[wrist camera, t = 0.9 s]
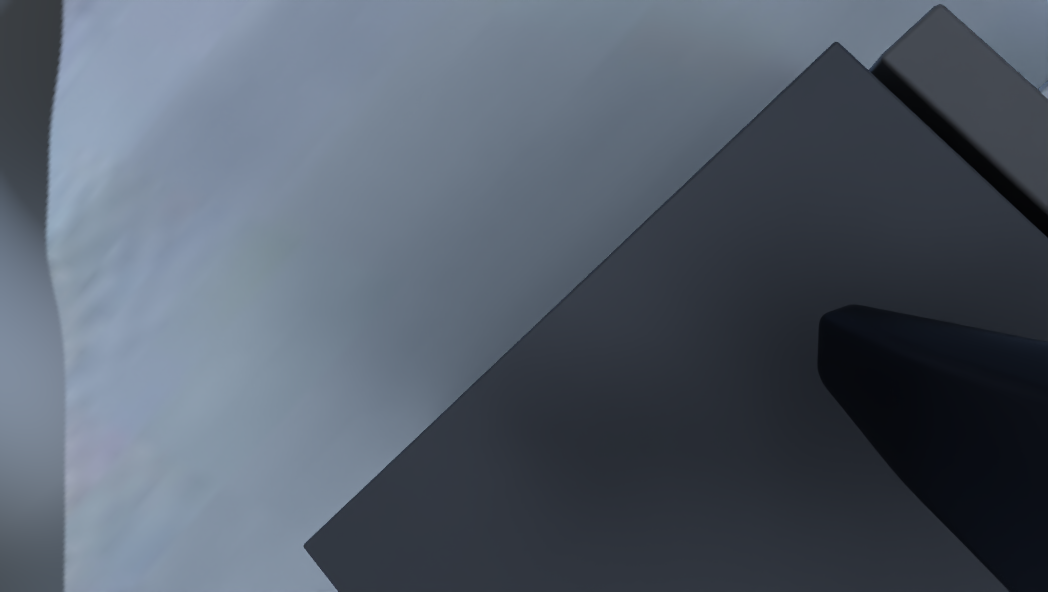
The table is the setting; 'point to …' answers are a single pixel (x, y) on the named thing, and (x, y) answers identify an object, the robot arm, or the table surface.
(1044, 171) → the drawer
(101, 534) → the table surface
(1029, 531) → the robot arm
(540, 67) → the table surface
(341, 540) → the mini drawer cabinet
